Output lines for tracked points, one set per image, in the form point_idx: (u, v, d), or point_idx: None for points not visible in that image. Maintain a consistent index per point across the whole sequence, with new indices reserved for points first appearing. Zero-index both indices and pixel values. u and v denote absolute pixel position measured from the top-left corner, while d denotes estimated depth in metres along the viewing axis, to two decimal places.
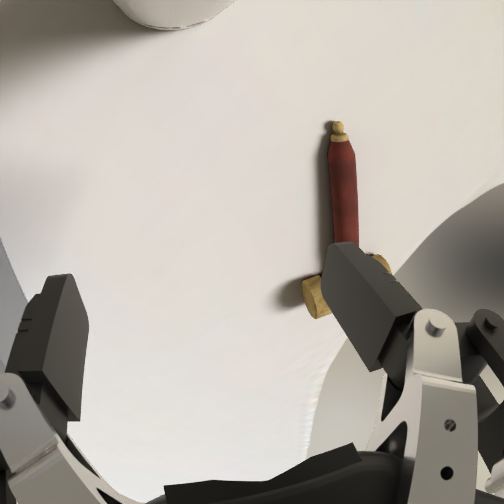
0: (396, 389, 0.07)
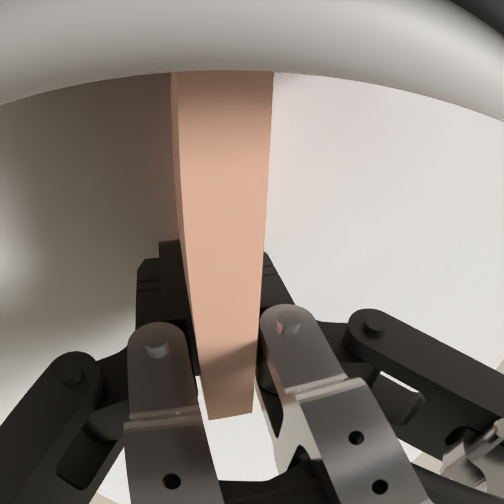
0: (275, 396, 0.07)
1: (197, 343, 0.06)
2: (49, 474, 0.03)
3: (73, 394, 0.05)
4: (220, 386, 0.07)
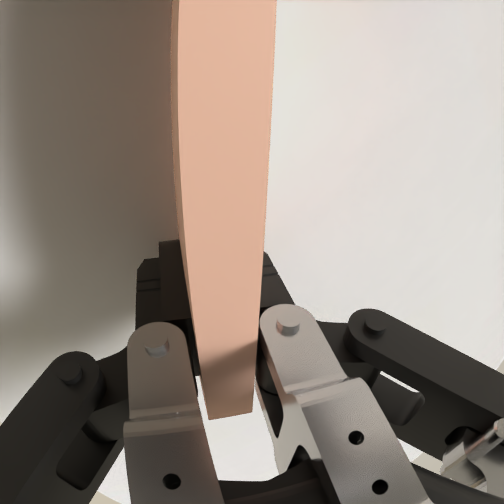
0: (275, 396, 0.07)
1: (197, 342, 0.06)
2: (49, 474, 0.03)
3: (73, 394, 0.05)
4: (219, 386, 0.07)
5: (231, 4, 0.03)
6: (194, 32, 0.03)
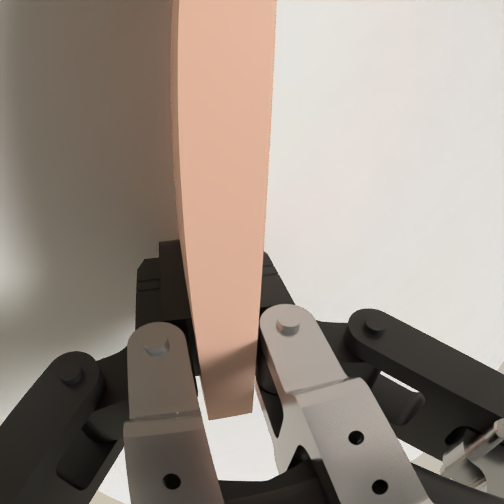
0: (275, 396, 0.07)
1: (197, 343, 0.06)
2: (49, 474, 0.03)
3: (73, 394, 0.05)
4: (220, 387, 0.07)
5: (231, 6, 0.03)
6: (194, 33, 0.03)
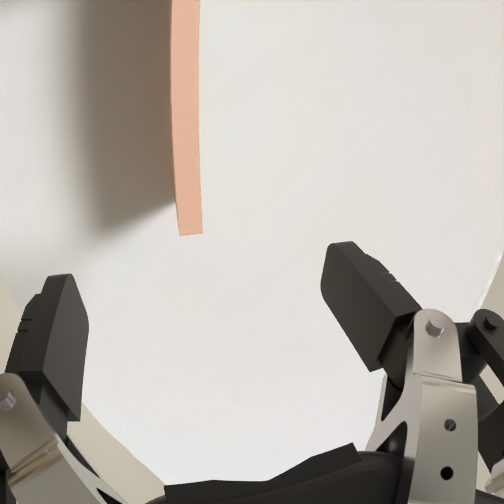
0: (396, 389, 0.07)
1: (175, 175, 0.14)
2: None
3: None
4: (184, 205, 0.15)
5: (185, 57, 0.11)
6: (175, 65, 0.12)
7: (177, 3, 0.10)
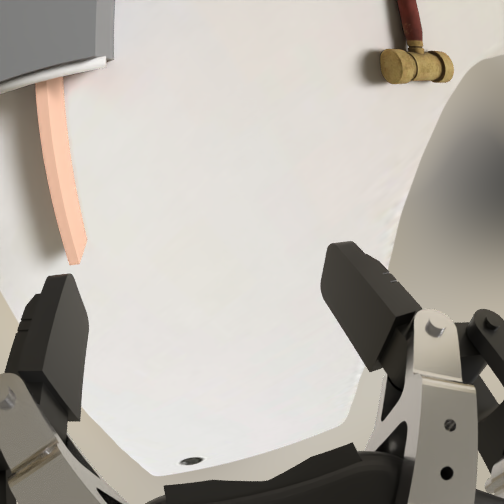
0: (396, 389, 0.07)
1: None
2: None
3: None
4: (68, 251, 0.29)
5: (54, 187, 0.25)
6: (51, 191, 0.25)
7: (46, 161, 0.23)
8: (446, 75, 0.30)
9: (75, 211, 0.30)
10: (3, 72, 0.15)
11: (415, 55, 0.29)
